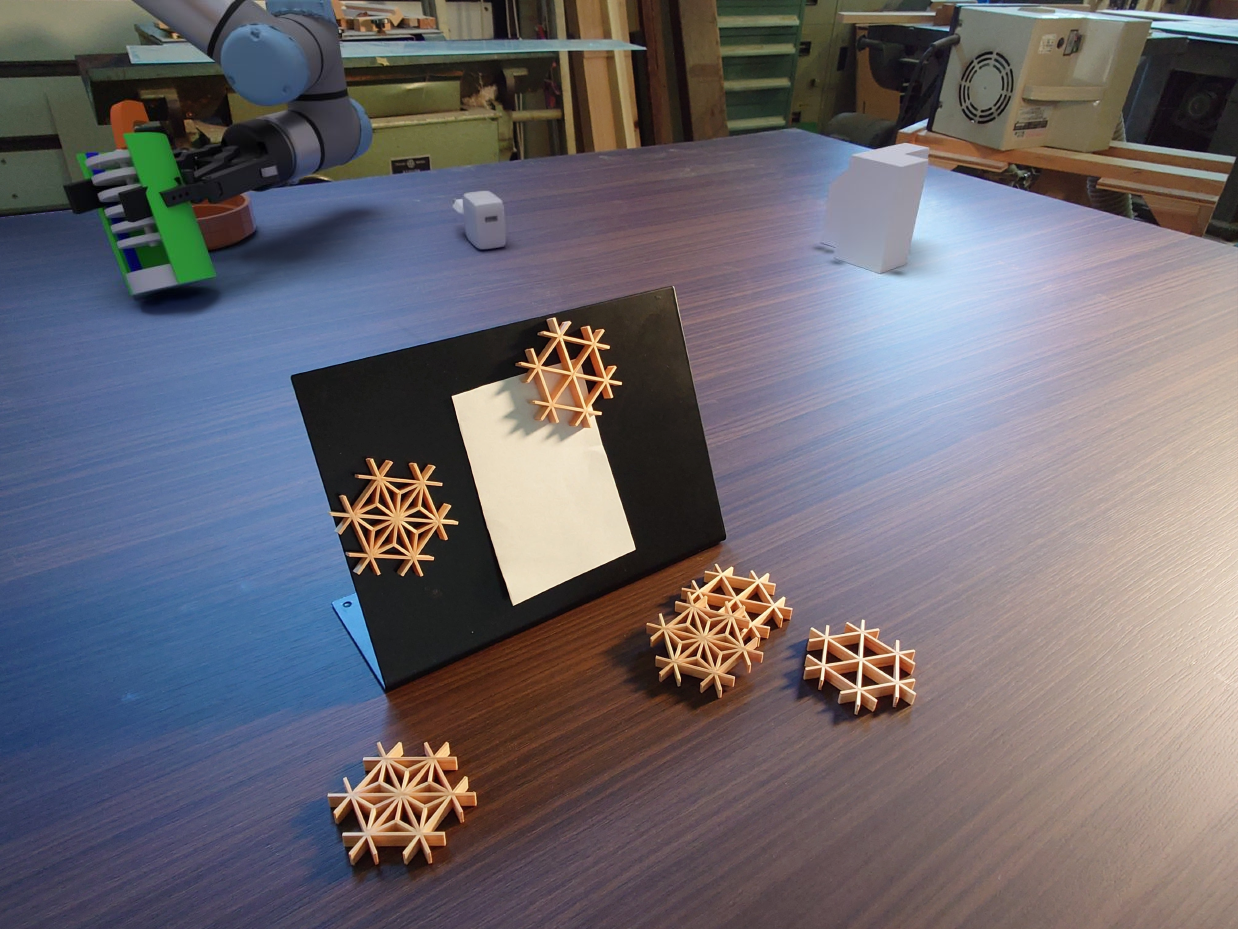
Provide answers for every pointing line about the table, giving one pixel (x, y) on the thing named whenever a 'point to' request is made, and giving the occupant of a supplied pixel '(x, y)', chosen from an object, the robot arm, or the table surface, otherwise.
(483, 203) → the power adapter
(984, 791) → the table surface
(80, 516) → the table surface
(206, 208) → the bowl
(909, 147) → the white notched block
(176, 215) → the green-shelled ribbed roller
